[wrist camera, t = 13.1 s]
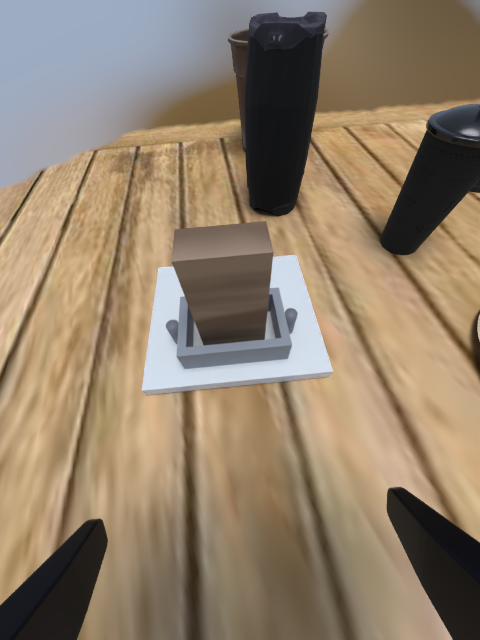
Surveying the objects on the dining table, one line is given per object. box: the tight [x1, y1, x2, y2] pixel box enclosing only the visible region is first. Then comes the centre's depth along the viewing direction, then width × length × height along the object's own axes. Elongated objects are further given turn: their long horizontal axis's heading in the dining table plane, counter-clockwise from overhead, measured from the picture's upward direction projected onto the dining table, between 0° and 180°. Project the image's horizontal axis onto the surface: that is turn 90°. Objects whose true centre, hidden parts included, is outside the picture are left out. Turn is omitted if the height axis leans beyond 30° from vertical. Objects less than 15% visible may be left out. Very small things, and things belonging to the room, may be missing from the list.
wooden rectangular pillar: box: [172, 221, 273, 345], centre depth 20 cm, size 4×6×12 cm, turn 95°
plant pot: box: [228, 28, 329, 150], centre depth 45 cm, size 16×16×16 cm
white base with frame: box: [142, 255, 333, 395], centre depth 26 cm, size 16×18×4 cm
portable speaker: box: [245, 12, 327, 216], centre depth 32 cm, size 9×9×20 cm
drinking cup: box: [380, 104, 480, 255], centre depth 25 cm, size 8×8×20 cm
